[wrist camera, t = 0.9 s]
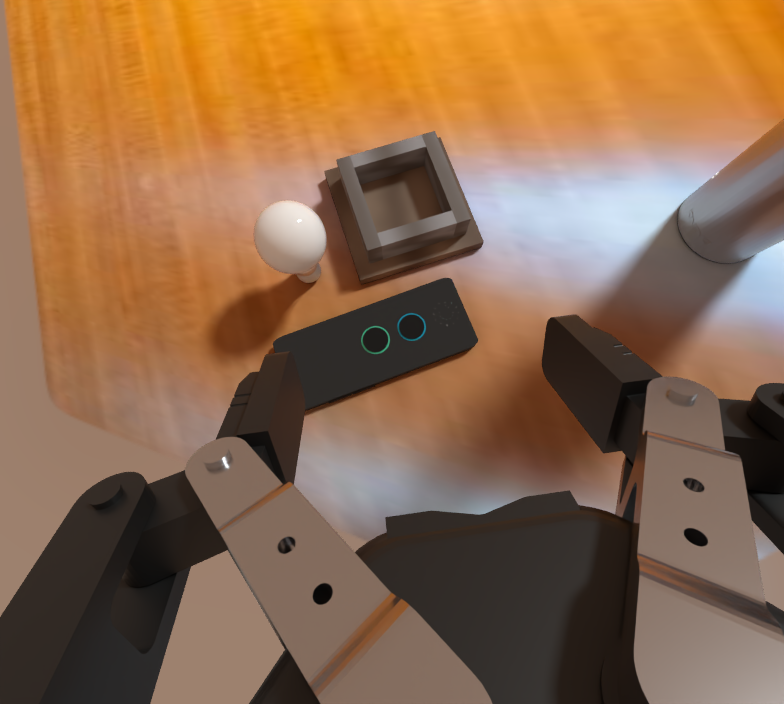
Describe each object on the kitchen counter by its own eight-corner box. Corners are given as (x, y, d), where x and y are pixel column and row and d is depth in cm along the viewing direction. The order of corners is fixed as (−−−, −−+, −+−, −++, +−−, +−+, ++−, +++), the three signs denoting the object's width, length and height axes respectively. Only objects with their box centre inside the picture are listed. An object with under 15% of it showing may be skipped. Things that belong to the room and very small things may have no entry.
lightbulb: (282, 304, 41) (242, 258, 31) (280, 250, 43) (240, 188, 32) (341, 297, 41) (321, 249, 31) (336, 244, 43) (316, 180, 32)
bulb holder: (439, 144, 45) (443, 115, 41) (481, 247, 42) (490, 227, 38) (326, 178, 45) (319, 152, 40) (361, 284, 42) (357, 268, 38)
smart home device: (481, 344, 39) (294, 414, 38) (477, 348, 41) (299, 415, 39) (450, 273, 40) (270, 338, 39) (447, 280, 42) (275, 342, 41)
